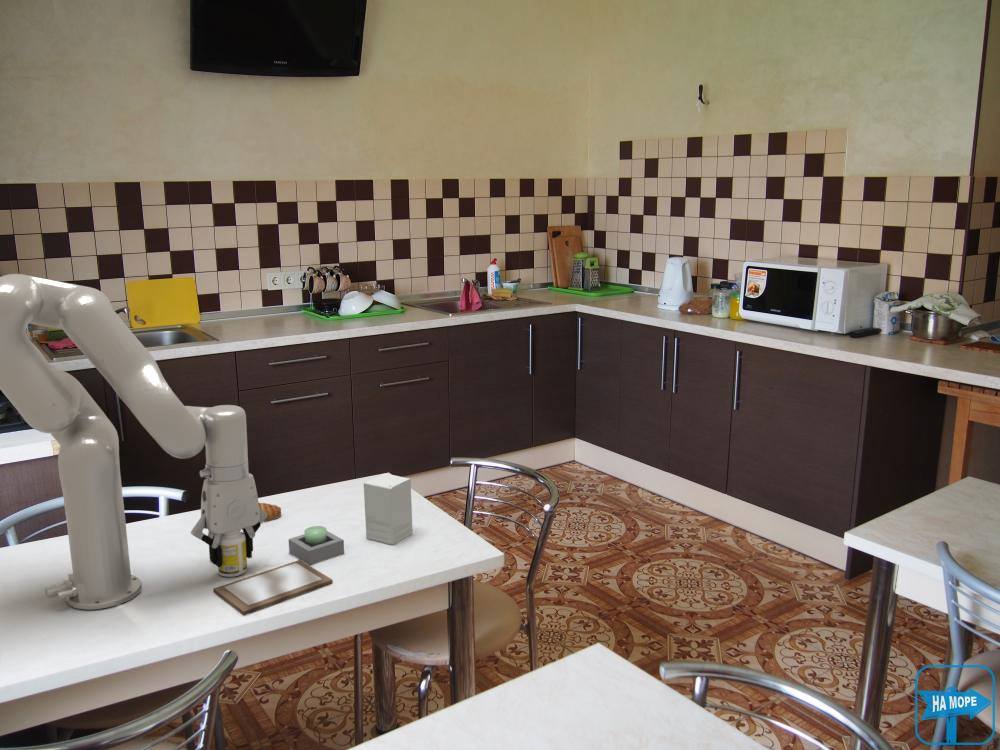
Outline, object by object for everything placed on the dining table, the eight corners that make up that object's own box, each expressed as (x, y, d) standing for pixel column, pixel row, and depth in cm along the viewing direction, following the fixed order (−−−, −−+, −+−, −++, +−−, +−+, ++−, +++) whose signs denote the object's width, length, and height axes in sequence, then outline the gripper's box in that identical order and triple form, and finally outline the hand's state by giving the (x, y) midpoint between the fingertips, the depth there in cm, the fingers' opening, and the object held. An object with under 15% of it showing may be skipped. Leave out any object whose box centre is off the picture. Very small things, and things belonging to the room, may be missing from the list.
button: (312, 545, 172) (311, 536, 171) (300, 539, 175) (300, 530, 174) (331, 539, 175) (330, 530, 174) (319, 533, 178) (319, 524, 177)
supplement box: (413, 533, 185) (412, 478, 182) (391, 546, 179) (389, 488, 176) (387, 526, 189) (385, 472, 186) (364, 538, 183) (362, 482, 180)
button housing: (309, 565, 170) (308, 551, 169) (289, 552, 176) (288, 539, 175) (344, 553, 175) (343, 539, 174) (323, 541, 181) (322, 528, 180)
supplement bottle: (236, 563, 170) (234, 516, 168) (252, 571, 167) (250, 523, 165) (212, 571, 166) (209, 524, 164) (228, 580, 163) (226, 531, 161)
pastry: (280, 511, 199) (279, 495, 198) (282, 522, 192) (281, 506, 192) (238, 515, 196) (237, 500, 195) (238, 527, 190) (237, 510, 189)
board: (243, 615, 150) (243, 610, 150) (213, 592, 159) (213, 587, 158) (332, 583, 162) (332, 578, 162) (300, 563, 171) (299, 558, 170)
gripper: (192, 485, 154) (197, 579, 158) (278, 466, 165) (281, 554, 169) (174, 475, 159) (180, 566, 163) (259, 457, 171) (263, 542, 174)
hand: (231, 559), depth 166 cm, fingers closed on supplement bottle, 5 cm apart
